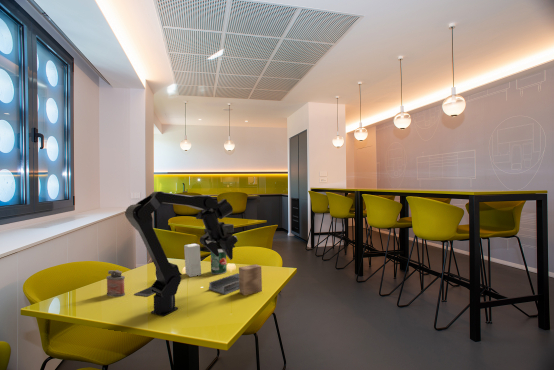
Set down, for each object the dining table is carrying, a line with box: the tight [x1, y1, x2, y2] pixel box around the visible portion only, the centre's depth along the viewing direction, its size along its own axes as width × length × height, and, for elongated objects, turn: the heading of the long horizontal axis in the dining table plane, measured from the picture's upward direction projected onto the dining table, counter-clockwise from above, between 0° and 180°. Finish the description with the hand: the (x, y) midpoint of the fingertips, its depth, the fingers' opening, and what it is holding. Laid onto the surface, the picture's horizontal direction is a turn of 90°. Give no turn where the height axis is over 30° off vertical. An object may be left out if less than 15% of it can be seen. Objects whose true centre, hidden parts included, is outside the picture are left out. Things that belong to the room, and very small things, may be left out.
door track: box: [208, 272, 239, 296], centre depth 123 cm, size 16×10×3 cm, turn 141°
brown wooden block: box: [238, 263, 263, 296], centre depth 116 cm, size 8×4×10 cm, turn 121°
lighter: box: [106, 269, 126, 298], centre depth 117 cm, size 8×3×10 cm, turn 74°
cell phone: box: [133, 286, 155, 298], centre depth 121 cm, size 7×14×1 cm, turn 160°
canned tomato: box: [210, 248, 228, 275], centre depth 146 cm, size 8×8×11 cm
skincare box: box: [183, 243, 202, 278], centre depth 143 cm, size 8×6×15 cm
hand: (224, 257), depth 119 cm, fingers open, 9 cm apart
